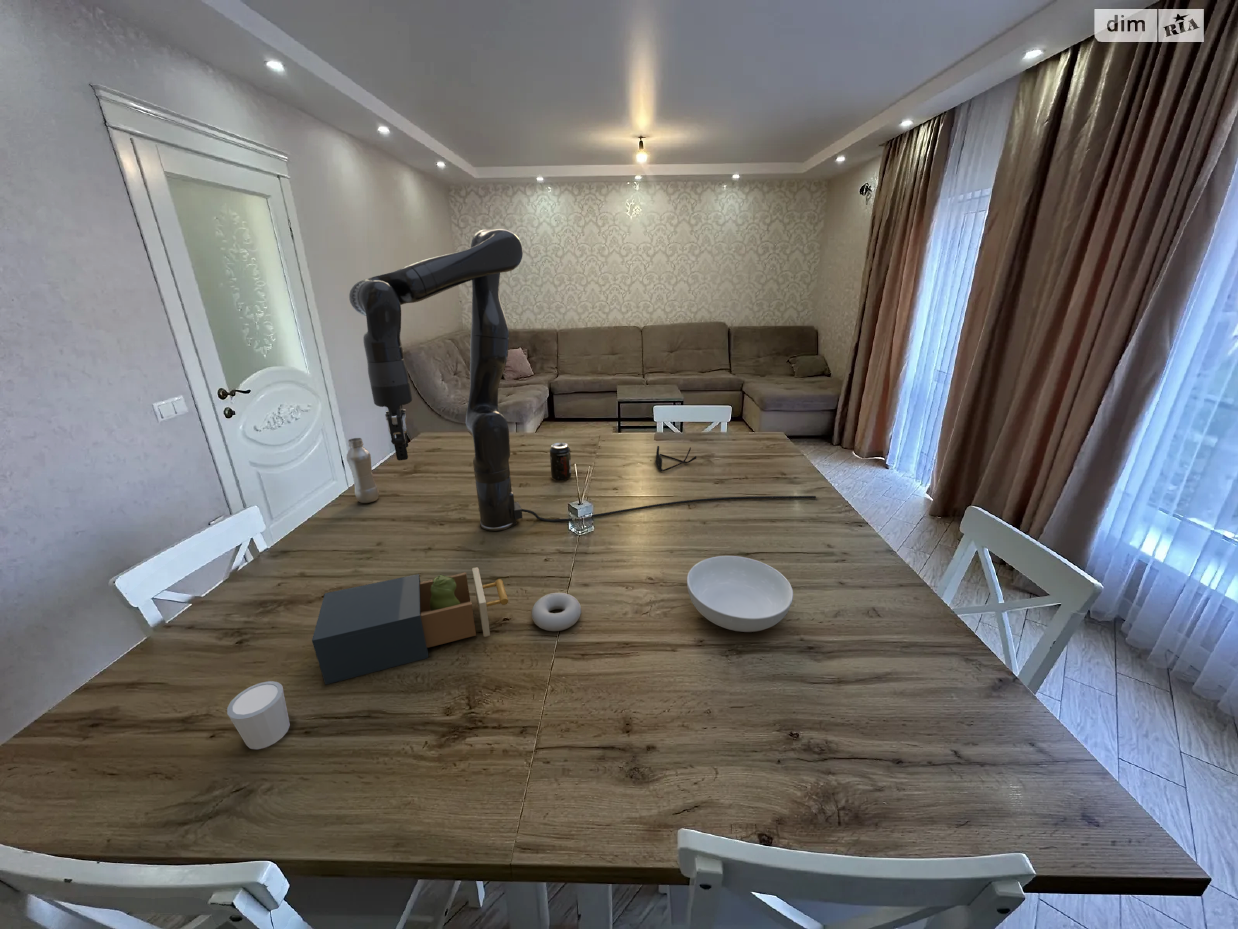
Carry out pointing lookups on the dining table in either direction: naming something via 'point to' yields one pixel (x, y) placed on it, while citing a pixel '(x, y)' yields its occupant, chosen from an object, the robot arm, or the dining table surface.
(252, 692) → the white tapered tub
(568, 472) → the beverage can
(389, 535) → the dining table surface
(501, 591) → the drawer
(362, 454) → the plastic bottle
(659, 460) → the sunglasses
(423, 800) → the dining table surface
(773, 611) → the serving bowl
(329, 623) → the cabinet
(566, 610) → the donut
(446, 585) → the pear
